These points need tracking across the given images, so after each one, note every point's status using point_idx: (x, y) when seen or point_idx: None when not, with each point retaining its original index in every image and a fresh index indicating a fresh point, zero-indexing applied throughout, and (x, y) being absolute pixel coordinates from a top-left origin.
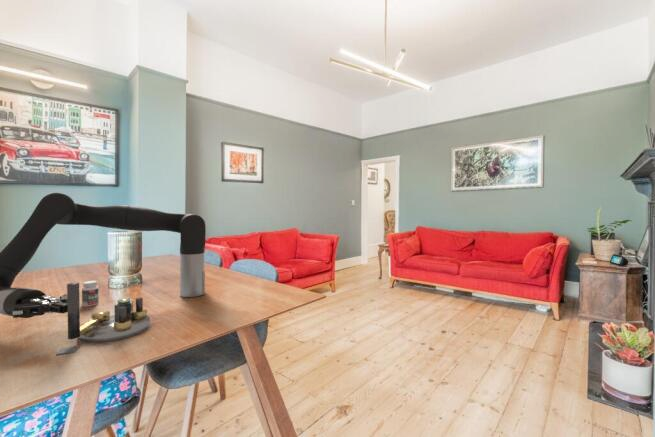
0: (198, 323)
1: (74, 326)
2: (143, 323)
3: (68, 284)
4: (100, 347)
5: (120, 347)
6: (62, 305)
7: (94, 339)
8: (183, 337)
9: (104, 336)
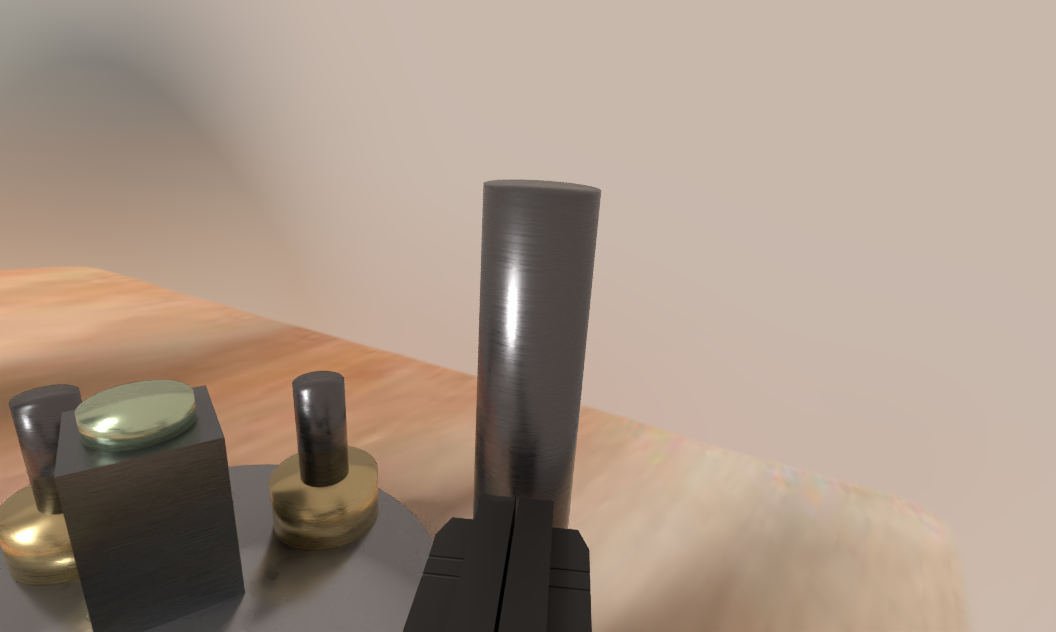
0: (216, 382)
1: None
2: (246, 471)
3: (586, 191)
4: None
5: None
6: (552, 509)
7: None
8: (372, 378)
9: None
